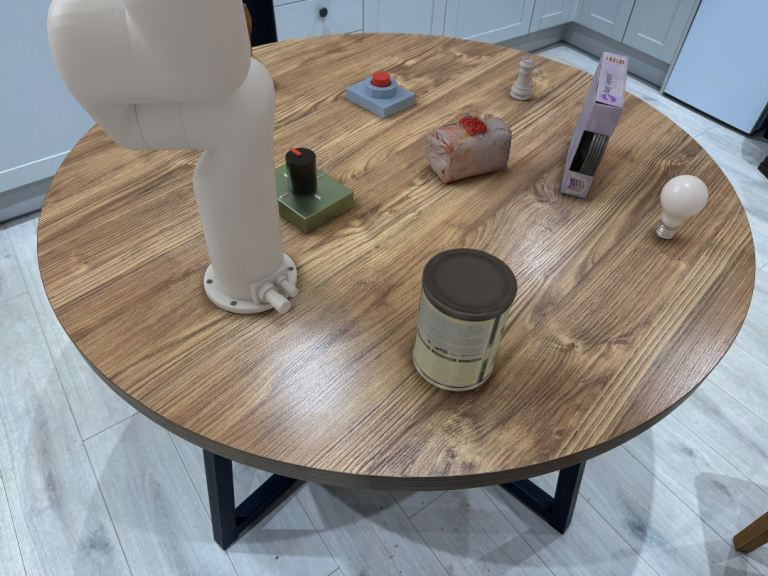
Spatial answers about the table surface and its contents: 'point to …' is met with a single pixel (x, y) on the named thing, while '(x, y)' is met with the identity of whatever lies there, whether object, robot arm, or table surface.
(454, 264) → the coffee can
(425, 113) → the table surface
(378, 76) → the button
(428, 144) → the food item
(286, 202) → the knob console
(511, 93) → the rook chess piece
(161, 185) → the table surface
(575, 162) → the cake pan box
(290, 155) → the dial knob
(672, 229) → the lightbulb
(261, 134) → the robot arm
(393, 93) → the button box
